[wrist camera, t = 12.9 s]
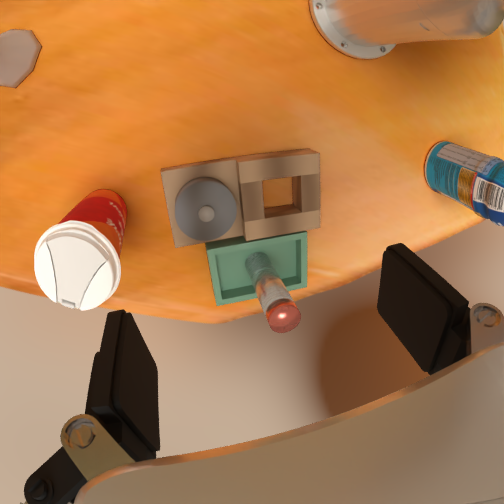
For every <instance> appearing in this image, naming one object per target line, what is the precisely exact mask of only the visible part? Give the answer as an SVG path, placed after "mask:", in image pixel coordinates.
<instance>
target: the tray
mask: <svg viewBox="0 0 504 504" xmlns="http://www.w3.org/2000/svg"><path fill="white" fill-rule="evenodd" d="M205 245H206V251H207V257H208V263H209V269H210V274H211V280H212V285H213V291H214V296H215V300H216V304H217V306H219V305H224V304H229V303H234V302H239V301H244V300H249V299H254V298H258V297H257V294H256V292H255V290H254V287H253V285H252V282H251V280H250V278H249V275H248V273H247V271H246V268H245V261H246V259H247V257H248V256H249V255H251V254H252V253H255V252H262V253H265V254H266V255H267V256H268V257H269V259H270V261H271V263H272V264H273V266H274V268H275V270H276V271H277V273H278V275H279V277H280V278H281V280H282V282H283V284H284V285H285V287H286V289H287V291H291V290H296V289H300V288H305V287H307V231H306V230H305V231H300V232H294V233H288V234H283V235H277V236H271V237H266V238H260V239H254V240H249V241H246V239H245V237H244V236H238V237H232V238H227V239H221V240H216V241H210V242H205Z"/></svg>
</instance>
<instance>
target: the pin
mask: <svg viewBox="0 0 504 504" xmlns="http://www.w3.org/2000/svg"><path fill="white" fill-rule="evenodd" d="M245 268H246V271H247V273H248V275H249V278H250V280H251V282H252V285H253V287H254V290H255V292H256V294H257V297H258V299H259V301H260V304H261V306H262V309H263V311H264V313H265V316H266V318H267V320H268V323H269V325H270V327H271V329H272V330H273V331H275V332H278V333H285V332H288V331H291V330H292V329H294V328H295V327H296V326H297V325H298V324H299V322H300V319H301V314H300V312H299V310H298V308H297V306H296V305H295V303H294V301H293V299H292V298H291V296H290V294H289V292H288V291H287V289H286V287H285V285H284V284H283V282H282V280H281V278H280V277H279V275H278V273H277V271H276V270H275V268H274V266H273V264H272V263H271V261H270V259H269V257H268V256H267V255H266V254H265V253H262V252H255V253H252V254H251V255H249V256H248V257H247V259H246V261H245Z"/></svg>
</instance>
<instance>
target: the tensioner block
mask: <svg viewBox="0 0 504 504" xmlns="http://www.w3.org/2000/svg"><path fill="white" fill-rule="evenodd" d="M161 176H162V182H163V187H164V193H165V198H166V203H167V209H168V214H169V219H170V224H171V229H172V234H173V238H174V243H175V248H178V247H183V246H188V245H194V244H199V243H205V242H210V241H216V240H221V239H227V238H232V237H238V236H244V237H245V239H246V241H249V240H254V239H260V238H266V237H271V236H277V235H283V234H288V233H294V232H300V231H305V230H311V229H317V228H320V153H318V152H316V151H313V150H311V149H300V150H289V151H279V152H270V153H262V154H253V155H245V156H238V157H231V158H224V159H217V160H210V161H204V162H198V163H192V164H186V165H180V166H175V167H169V168H164V169H161ZM285 177H292V189H293V204H291V205H284V206H278V207H271V208H265V209H264V202H263V188H262V180H269V179H277V178H285Z"/></svg>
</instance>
